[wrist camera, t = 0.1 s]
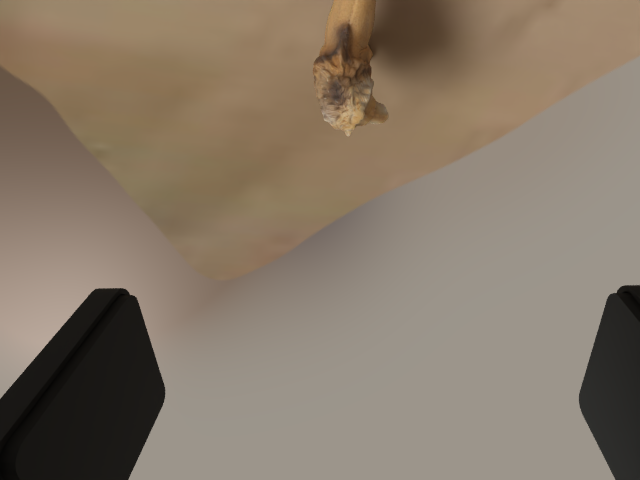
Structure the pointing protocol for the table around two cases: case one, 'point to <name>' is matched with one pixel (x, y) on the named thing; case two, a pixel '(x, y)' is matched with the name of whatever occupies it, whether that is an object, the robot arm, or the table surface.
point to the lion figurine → (348, 68)
